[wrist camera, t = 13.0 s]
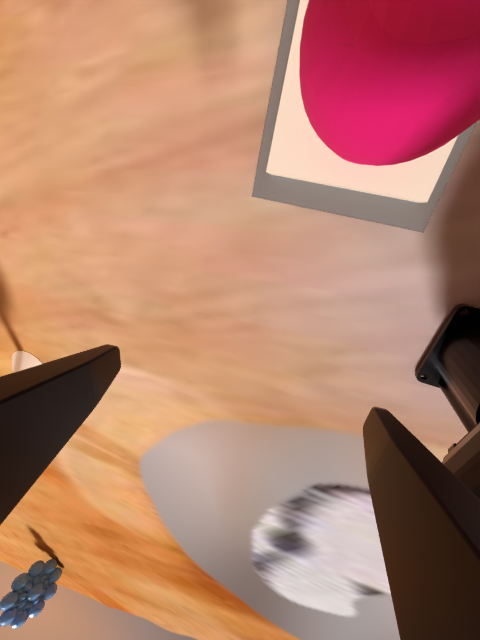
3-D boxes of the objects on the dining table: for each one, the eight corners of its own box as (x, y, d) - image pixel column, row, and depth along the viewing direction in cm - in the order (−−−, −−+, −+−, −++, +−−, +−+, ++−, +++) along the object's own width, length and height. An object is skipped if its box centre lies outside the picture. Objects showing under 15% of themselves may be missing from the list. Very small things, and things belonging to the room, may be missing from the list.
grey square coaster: (417, 230, 17) (432, 235, 14) (255, 196, 19) (245, 195, 16) (548, -49, 12) (608, -117, 9) (303, -55, 14) (299, -112, 11)
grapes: (32, 541, 64) (-25, 607, 54) (50, 546, 62) (-6, 616, 51) (55, 570, 68) (6, 637, 57) (73, 576, 65) (25, 647, 55)
